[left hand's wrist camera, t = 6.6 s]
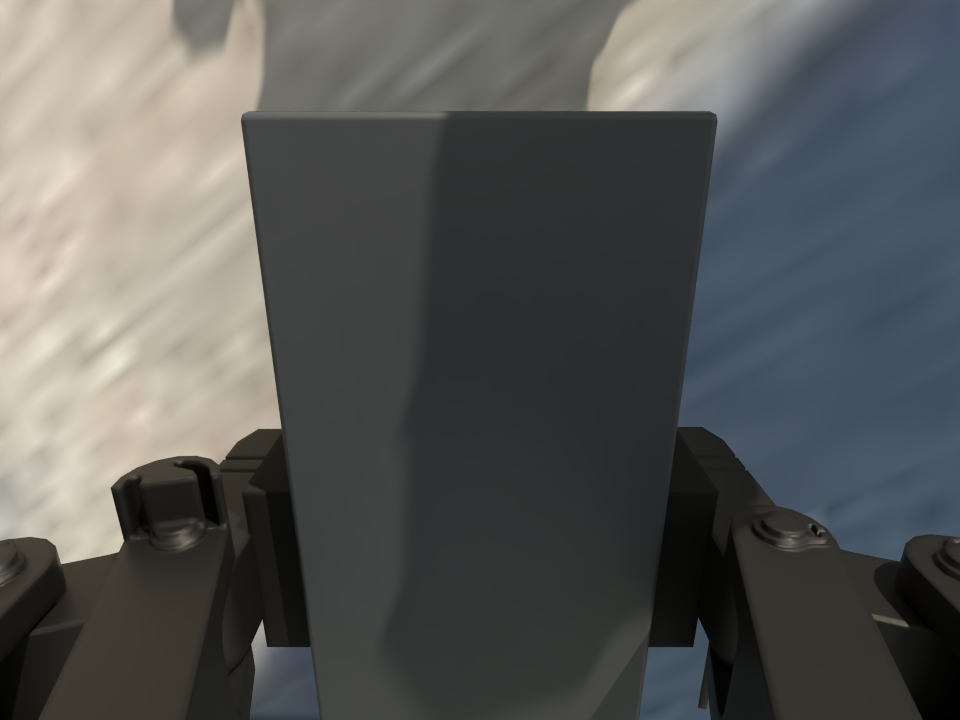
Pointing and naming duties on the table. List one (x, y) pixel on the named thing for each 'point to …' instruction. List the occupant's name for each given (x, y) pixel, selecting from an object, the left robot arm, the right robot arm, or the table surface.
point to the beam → (479, 395)
